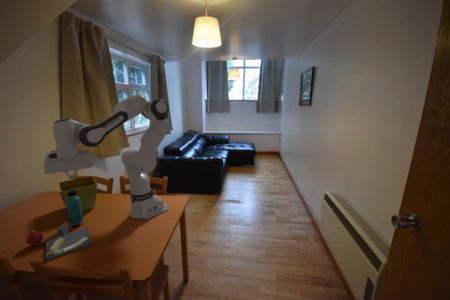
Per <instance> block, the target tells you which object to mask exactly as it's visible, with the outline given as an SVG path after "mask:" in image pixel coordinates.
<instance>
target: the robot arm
mask: <svg viewBox="0 0 450 300" xmlns="http://www.w3.org/2000/svg"><path fill="white" fill-rule="evenodd" d="M112 112H113V113H112V114H110V116H109V117H107V118H105V119H104V120H102V121H101V122H100V123H97V124H95V125H90V124H87V123H82V122H80V121H77V120H74V119H72V118H69V117H68V118H61V119H57V120H56V121H54V122H53V125H52V134H53V139H54V141H55V148H54V149H53V150H49V151H48V152H45V154H44V158H45V159H44V162H43V171H44V174H46V175H51V174H58V173H64V175H66V176H67V178H68V180H73V179H77V178H76V175H77V173H78V170H83V169H84V170H85V169H90V168H93V167H94V166H95V162H94V152H93V150H90V149H84V150H80V149H79V144H82V145H83V146H86V147H88V148H95V147H98V146H99V145H101V144H102V143H103V141H104V140H105V139H106V138H107V136H108V135H109V134H110V133H111V132H113V131H115V130H117V128H119V127H121V126H122V125H123V124H125V123H127V122H129V121H130V120H132V119H134V118H135V117H137V116H139V115H142V116H143V117H144V118H145V119H147V120H151V122H150V125H149V126H148V127H147V129H146V130H145V131H144V133H143V135H142V136H141V138H140V147H139V149H138V150H135V149H128V150H125V151H123V153H122V154H121V156H120V160H121V161H120V162H121V163H122V164H123V166H124V168H125V172H126V174H127V177H128V180H129V189H130V192H129V199H130V203H131V205H130V213H129V216H130V217H131V218H133V219H144V220H149V219H151V218H153V217H156V216H157V215H160V214H163V213H165V212H166V211H168V210H169V207H168V205H167V203H165V202H164V200H163V199H162V197H161V196H158V195H157V191H156V190H154V189H152V188H151V182H150V177H149V175H148V174H147V173H150V172H152V171H153V170H154V169H155V168H156V165H157V161H156V154H157V151H158V148H159V146H160V145H161V144H162V142H163V140H164V139H165V137H166V135H167V133H168V130H169V128H170V123H169V121H168V120H167V118H168V114H169V113H168V112H169V104H168V103H167V102H166V101H165V100H164V99H162V98H156V99H154V100H151V101H149V100H147V99H146V97H145V96H144V95H143V94H140V93H138V94H134V95H131V96H127V97H126V98H125V99H122V100H121V101H119V102H117V104H115V105H114V106H113V109H112ZM70 171H71V172H72V171H73V172H74V173H73V174H69V172H70Z"/></svg>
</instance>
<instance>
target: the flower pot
mask: <svg viewBox="0 0 450 300" xmlns="http://www.w3.org/2000/svg"><path fill="white" fill-rule="evenodd" d="M57 185H58V193H59V194H60V195H59V196H60V198H61V200H62V203H63V204H64V206H65V208H66V209H67V203H66V200H67V199H68V198H69V196H68V192H69V191H72V190H76V192H77V195H75V196H78V197H80V203H81V209H82V212H83V211H86V210H90V209H94V208H95V206H96V201H97V195H98V183H97V181H96V179H95V178H94V175H93V176H91V175H90V176H85V177H79V178H75V179H68V180H64V181H59V182H58V183H57Z"/></svg>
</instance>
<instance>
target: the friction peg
mask: <svg viewBox="0 0 450 300" xmlns="http://www.w3.org/2000/svg"><path fill="white" fill-rule="evenodd" d="M56 232H57V237H58V239H57V240H56V241H55V243H54V244H53V245H52V246H51V248H50V249H49V250H50V254H55V253H56V251H57V250H58V248H59V247H60V246H61V244H62V243H63V241H64V240H65V238H67V235H66V234H68V233H69V224H68V222H64V223H61V225H60V226H59V227H58V228H57V230H56Z"/></svg>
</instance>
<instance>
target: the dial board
mask: <svg viewBox="0 0 450 300" xmlns="http://www.w3.org/2000/svg"><path fill="white" fill-rule="evenodd" d="M66 235H67V238H65V240H64V241H63V243H62V244H61V246H60V247H59V248H58V250H57V251H56V253H55V254H50V250H49V249H50V248H51V246H52V245H53V244H54V243H55V241H56V240H57V239H58V236H55V237H52V238H48V239H46V242H45V246H46V247H45V261H46V262H47V261H50V260H53V259H55V258H59V257H62V256H65V255H68V254H71V253H73V252H76V251H78V250H82V249H85V248H87V247H91V246H92V245H93V242H92V239H91V236H90V233H89V229H88V227H85V228H82V229H78V230H75V231H71V232H68V233H67V234H66Z"/></svg>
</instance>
